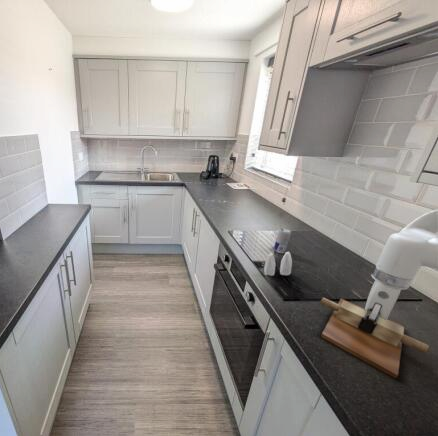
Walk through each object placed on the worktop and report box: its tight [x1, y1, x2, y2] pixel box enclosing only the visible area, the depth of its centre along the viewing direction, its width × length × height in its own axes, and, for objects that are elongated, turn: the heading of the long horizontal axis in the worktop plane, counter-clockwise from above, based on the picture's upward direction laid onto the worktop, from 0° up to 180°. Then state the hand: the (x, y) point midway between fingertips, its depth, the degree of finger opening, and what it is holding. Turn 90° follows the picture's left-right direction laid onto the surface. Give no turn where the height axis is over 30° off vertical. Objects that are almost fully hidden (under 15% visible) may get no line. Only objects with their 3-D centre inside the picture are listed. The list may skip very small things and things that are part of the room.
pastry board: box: [320, 298, 405, 379], centre depth 70 cm, size 24×16×2 cm, turn 131°
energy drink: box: [273, 227, 292, 254], centre depth 115 cm, size 5×5×12 cm
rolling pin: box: [319, 296, 430, 354], centre depth 70 cm, size 24×4×4 cm, turn 41°
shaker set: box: [263, 251, 293, 277], centre depth 97 cm, size 12×4×11 cm, turn 89°
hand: (366, 325), depth 70 cm, fingers closed on rolling pin, 4 cm apart
